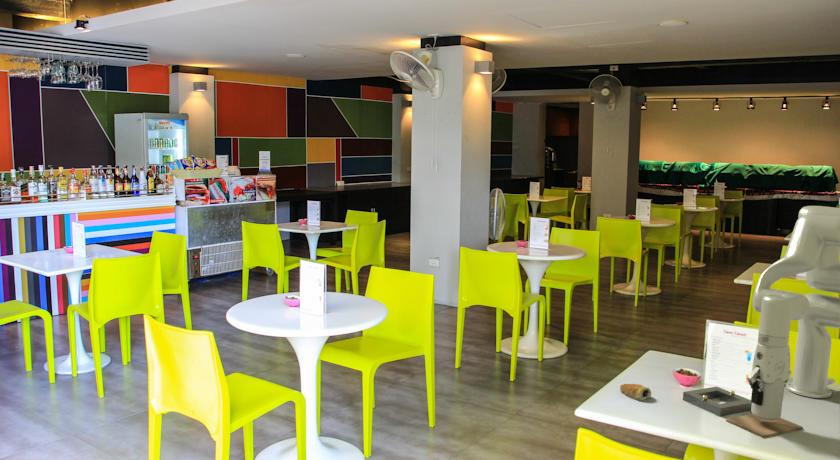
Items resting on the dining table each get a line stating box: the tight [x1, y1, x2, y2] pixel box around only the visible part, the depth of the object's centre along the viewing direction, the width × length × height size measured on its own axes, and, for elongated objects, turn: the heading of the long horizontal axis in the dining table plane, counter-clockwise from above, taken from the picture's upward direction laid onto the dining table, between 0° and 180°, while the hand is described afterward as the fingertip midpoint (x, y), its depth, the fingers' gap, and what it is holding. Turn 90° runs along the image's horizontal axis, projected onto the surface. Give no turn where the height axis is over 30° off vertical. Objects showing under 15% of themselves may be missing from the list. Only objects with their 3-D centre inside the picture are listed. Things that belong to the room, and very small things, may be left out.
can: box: [750, 377, 785, 421], centre depth 200 cm, size 8×8×12 cm
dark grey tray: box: [682, 386, 752, 418], centre depth 215 cm, size 14×14×4 cm
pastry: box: [619, 383, 652, 401], centre depth 221 cm, size 9×7×4 cm
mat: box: [725, 413, 804, 439], centre depth 201 cm, size 16×12×1 cm
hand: (766, 401), depth 200 cm, fingers closed on can, 7 cm apart
